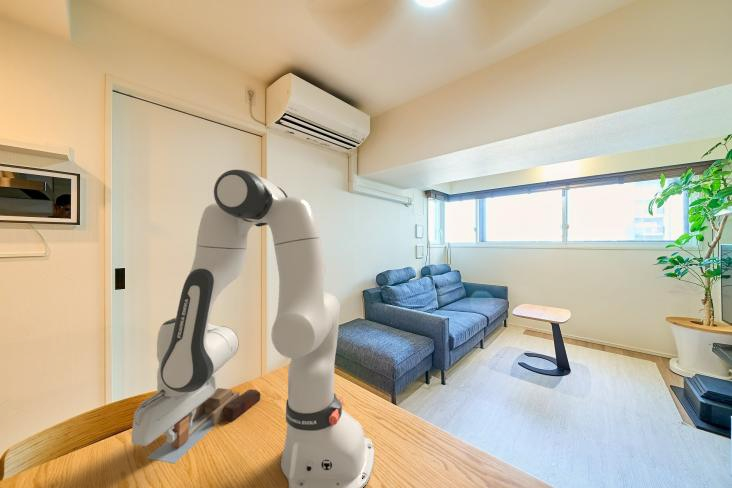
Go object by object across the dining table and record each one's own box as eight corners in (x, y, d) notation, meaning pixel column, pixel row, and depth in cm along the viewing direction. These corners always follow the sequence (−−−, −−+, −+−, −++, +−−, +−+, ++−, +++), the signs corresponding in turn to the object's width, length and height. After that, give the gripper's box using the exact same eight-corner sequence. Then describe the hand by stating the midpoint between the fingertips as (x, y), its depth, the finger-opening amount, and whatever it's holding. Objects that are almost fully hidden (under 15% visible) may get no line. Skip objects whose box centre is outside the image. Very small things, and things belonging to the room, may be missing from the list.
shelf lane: (239, 406, 79) (239, 392, 79) (174, 467, 58) (174, 448, 58) (217, 403, 81) (217, 389, 81) (146, 461, 59) (146, 443, 59)
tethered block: (231, 405, 78) (232, 386, 78) (183, 448, 62) (183, 423, 62) (217, 403, 79) (218, 384, 79) (166, 445, 62) (166, 420, 63)
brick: (232, 426, 71) (232, 409, 71) (222, 422, 72) (222, 406, 72) (260, 403, 81) (260, 389, 81) (251, 400, 82) (251, 386, 82)
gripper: (146, 408, 52) (147, 473, 53) (220, 362, 73) (220, 409, 73) (122, 404, 54) (123, 468, 54) (201, 360, 74) (202, 406, 74)
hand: (179, 434), depth 63 cm, fingers closed on tethered block, 3 cm apart
